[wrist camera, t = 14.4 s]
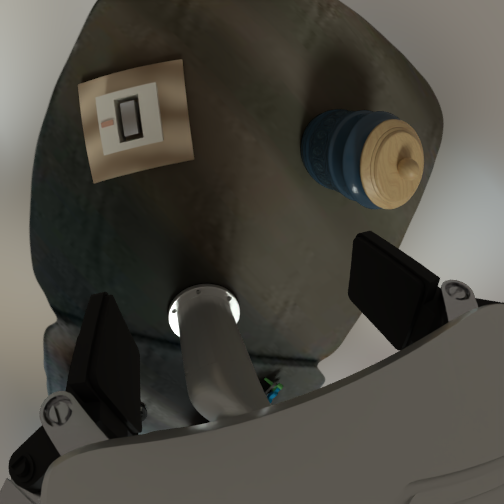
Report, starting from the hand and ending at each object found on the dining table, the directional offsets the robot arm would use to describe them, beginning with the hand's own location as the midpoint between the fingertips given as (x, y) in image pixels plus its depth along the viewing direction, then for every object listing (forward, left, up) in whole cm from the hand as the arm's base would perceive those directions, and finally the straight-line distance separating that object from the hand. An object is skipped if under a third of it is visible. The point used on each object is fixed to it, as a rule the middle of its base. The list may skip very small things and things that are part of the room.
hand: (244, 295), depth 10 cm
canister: (0, -23, -30) cm, 38 cm away
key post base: (+8, +6, -30) cm, 32 cm away
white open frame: (+8, +6, -29) cm, 30 cm away
